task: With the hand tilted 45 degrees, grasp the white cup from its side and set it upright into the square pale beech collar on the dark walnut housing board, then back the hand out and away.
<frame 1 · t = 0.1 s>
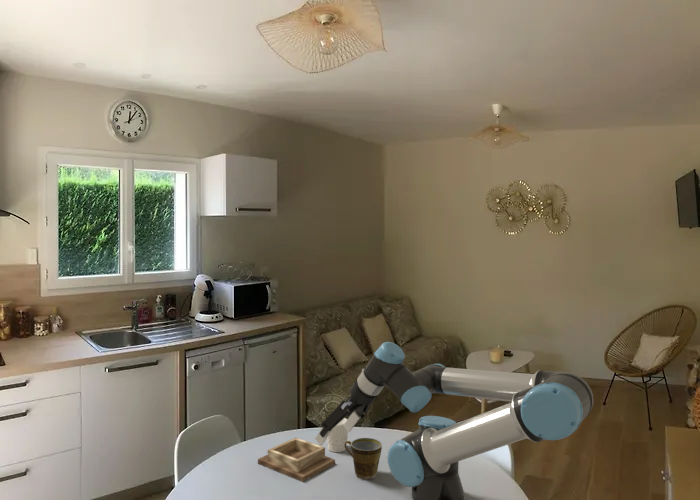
hand: (333, 434, 158), 15 cm above the table, tool tilted 35°, fingers open, 13 cm apart
ceramic cup: (361, 474, 166), on the table
white cup: (337, 449, 185), on the table
housing: (296, 463, 172), on the table
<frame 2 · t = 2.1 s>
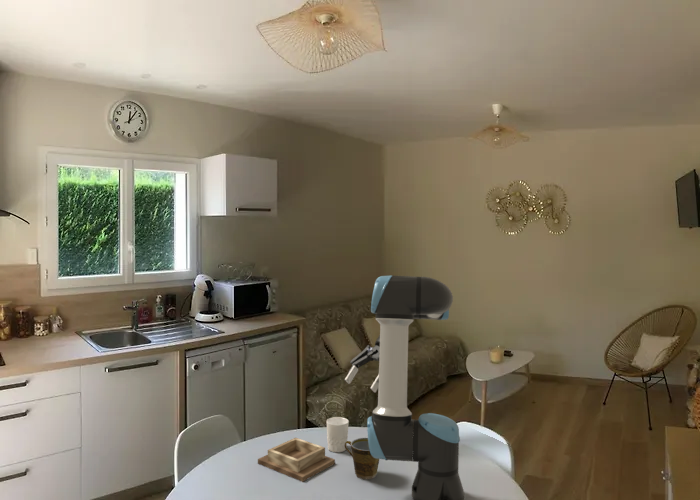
hand: (359, 386, 192), 20 cm above the table, tool tilted 45°, fingers open, 13 cm apart
nothing on the table moved.
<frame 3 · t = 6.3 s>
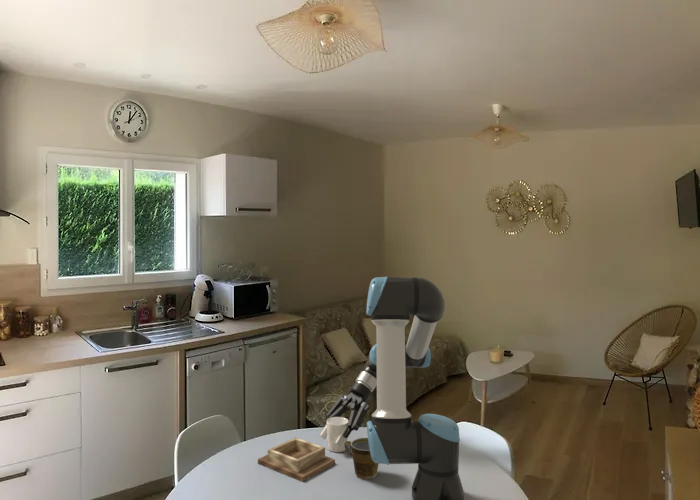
hand: (330, 441, 182), 4 cm above the table, tool tilted 45°, fingers closed on white cup, 8 cm apart
white cup: (337, 449, 185), on the table, touching gripper
everything else where it was.
when the fingers open (7 cm above the table, at t = 11.7 s): white cup drops 1 cm, resting on housing.
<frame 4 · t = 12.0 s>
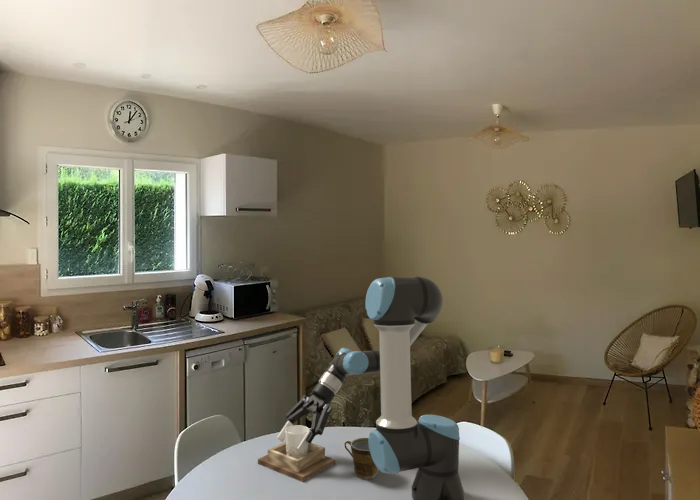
hand: (289, 445, 170), 7 cm above the table, tool tilted 45°, fingers open, 10 cm apart
white cup: (296, 459, 172), point 1 cm above the table, touching housing
everything else where it was.
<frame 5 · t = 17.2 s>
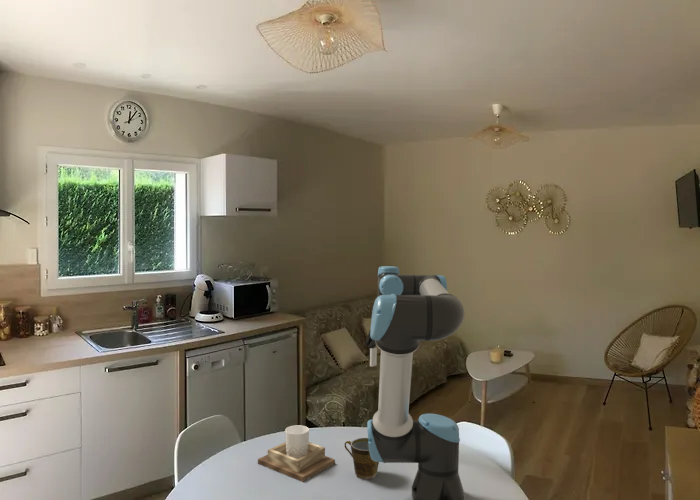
hand: (386, 369, 183), 29 cm above the table, tool pointing down, fingers open, 13 cm apart
nothing on the table moved.
at the end: white cup 0.1 cm off-centre on the housing, point 1.3 cm above the housing's base; white cup tilted 0°; the gripper is holding nothing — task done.
